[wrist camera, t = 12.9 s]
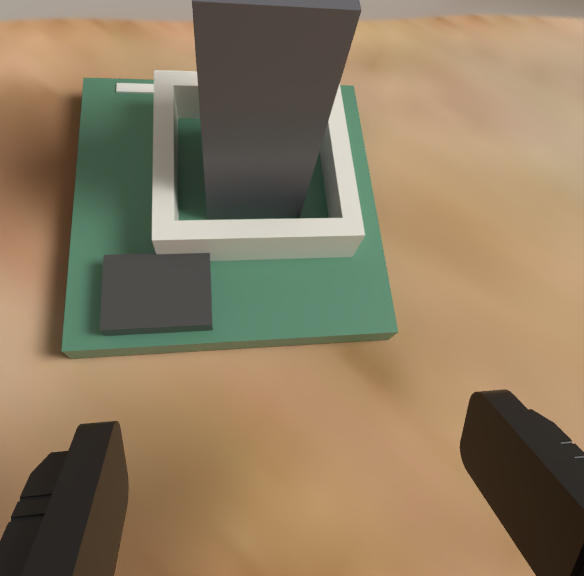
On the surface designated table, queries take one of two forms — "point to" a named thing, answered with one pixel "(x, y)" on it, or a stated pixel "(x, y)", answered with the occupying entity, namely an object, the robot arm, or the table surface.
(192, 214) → the header board
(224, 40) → the plug
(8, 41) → the table surface
